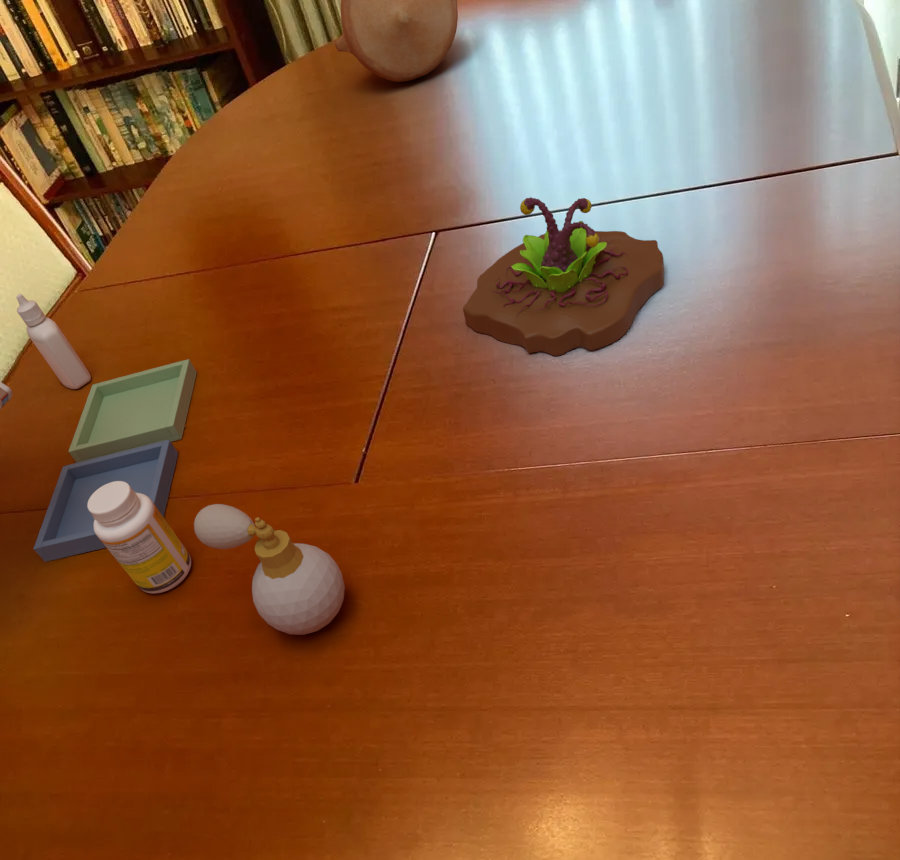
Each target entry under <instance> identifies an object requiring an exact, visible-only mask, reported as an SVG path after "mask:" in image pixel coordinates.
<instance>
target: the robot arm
mask: <svg viewBox="0 0 900 860" xmlns="http://www.w3.org/2000/svg"><path fill="white" fill-rule="evenodd" d="M12 398H13V391H12V389H11V388H10V387H9V386H8V385H6V384H5V383H3V382H2V381H0V410H1V409H2V408H3V407H5V405H6V404H8V403H9V402H10V400H12Z"/></svg>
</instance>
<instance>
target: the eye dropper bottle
mask: <svg viewBox="0 0 900 860" xmlns="http://www.w3.org/2000/svg"><path fill="white" fill-rule="evenodd" d="M15 298H16V300H17V302H18V304H19V305H18V307H17V308H16V313H17V314H18V315H19V317H20V318H21V319H22V321H23V323H24V324H25V325H26V333H27V336H28V337H29V339H30V340H31V342H32V343H33V345H34V346H35V348H36V349H37V350H38V352H39V353H40V355H41V356H42V357H43V359H44V360H45V362H46V363H47V365H48V366H49V368H50V369H51V370H52V371H53V373H54V375H55V376H56V377H57V380H59V381H60V383H61V384H62V385H63V386H64V387H65V388H67V389H71V390H79V389H81V388H83V386H85V385H86V384H88V383H89V382H90V381H91V380H92V376H91V374H90V371H89V370H88V369H87V367H86V366H85V364H84V362H83V361H82V360H81V358H80V356H79V355H78V353H77V352H76V351H75V349H74V348H73V346H72V344H71V343H70V341H69V340H68V339H67V337H66V336H65V334H64V332H63V331H62V330H61V329H60V327H59V326H58V324H57V323H56V322H55V321H54V320H52V319H51V318H49V317H48V316H46V314H45V313H44V311H43V310H42V309H41V308H40V306H39V304H38V303H37V302H36V300H29V299H27V298H26V297H25V296H24V295H23V294H21V293H19V294H17V295H16V296H15Z"/></svg>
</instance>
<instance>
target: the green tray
mask: <svg viewBox="0 0 900 860" xmlns="http://www.w3.org/2000/svg"><path fill="white" fill-rule="evenodd" d="M197 374H198V372H197V370H196V368H195V367H194V364H193V363H192V361H191V360H190V358H188V359H184V360H179V361H175V362H172V363H168V364H165V365H161V366H156V367H153V368H150V369H145V370H143V371H138V372H134V373H131V374H127V375H123V376H119V377H115V378H112V379H109V380H105V381H101V382H97V383H93V384H91V387H90V391H89V393H88V395H87V398H86V402H85V404H84V407H83V410H82V413H81V415H80V418H79V421H78V423H77V426H76V429H75V432H74V434H73V438H72V440H71V443H70V445H69V448H68V453H69V455H70V457H71V458H72V459H73V460H74V462H75V463H78V462H82V461H86V460H90V459H94V458H98V457H102V456H106V455H110V454H114V453H118V452H122V451H126V450H130V449H134V448H138V447H142V446H146V445H150V444H154V443H158V442H162V441H166V440H170V441H171V443H172V442H175V441H179V440H182V438H183V435H184V431H185V426H186V421H187V416H188V414H189V413H188V412H189V409H190V404H191V400H192V396H193V391H194V387H195V382H196V378H197Z"/></svg>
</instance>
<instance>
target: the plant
mask: <svg viewBox="0 0 900 860" xmlns="http://www.w3.org/2000/svg"><path fill="white" fill-rule="evenodd" d="M536 207H538V209H539V211H541V214H542V216H543V217H544V222H545V224H546V231H545V233H543V234H540V235H538V236H537V235H531V234H525V235H523V237H522V243H520V244H519V245H517V246H515V247H514V248H512V249H511V250H509V251H508V252H507V253H505V254H504V255H502V256H501V257H499V258H498V259H497V260H496V261H495V262H494V263H492V265H491V266H489V267H488V268H487V269H486V270H485V271H484V272H483V273H482V274H481V275H479V276H478V278H477V281H476V288H475V290H474V291H473V292H472V294H471V296H470V297H469V298H468V300H467V302H466V303H465V304H464V306H463V307H462V311H463V316H464V320H465V324H466V326H467V327H468V328H469V327H470V328H471V329H472V330H473V331H474V332H476V333H480V334H484V335H488V336H491V337H493V338H494V339H496V340H497V341H500V342H502V343H506V344H511V345H515V346H516V345H517V346H521V347H522V348H524V349H525V350H526V352H527V353H528V354H532V353H537V352H539V353H540V352H543V353H547V354H549V355H551V356H555V357H556V356H557V357H559V356H561V355H564V354H566V353H568V352H570V351H571V350H573V349H576V348H585V349H586V350H588V351H595V350H598V349H601V348H604V347H606V346H608V345H611V344H613V343H615V342H617V341H618V340H620V339H621V338H622V337H623V336H625V335H626V334H627V332H628V331H629V329H630V327H631V326H632V324H633V322H634V320H635V318H636V315H637V313H638V312H639V311H640V309H641V308H642V307H643V306H644V304H645V303H646V302H647V301H648V300H649V298H650V297H651V296H653V294H654V293H656V292H657V291H658V290H660V289H662V287H663V286H664V283H665V278H664V274H665V263H664V255H663V252H662V250H660V248H659V245H658V243H659V242H658V240H656V239H646V240H645V239H638V238H634V237H632V236H631V235H629V234H628V233H627V232H625V231H621V230H607V231H606V230H603V231H602V230H594V228H591V227H590V226H588V223H585V222H584V221H582V220H579V221H577V222H575V221H574V222H572V221H573V217H574V214H575V211H576V210H577V208H578V209H579V211H580V212H581V213H582V214H588V213H590V212H591V210H592V202H591V200H590V199H588V198H585V197H582V198H577V200H575V201H574V202H573V203H572V204H571V206H569V207H568V211H567V212H566V213H565V215H566V216H565V218H564V222H563V227H562V229H560V230H559V227H558V224H557V220H556V219H555V218H554V214H553V213H552V212H551V211H550V210H549V207H548V206H546V203H545V202H543V201H542V200H540V199H539V198H536V197H526V198H525V199H523V200H522V201H521V202H520V205H519V210H520V212H521V214H523V215H524V216H529V215H531V214H532V213H533V212H534V211H535V208H536Z"/></svg>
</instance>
